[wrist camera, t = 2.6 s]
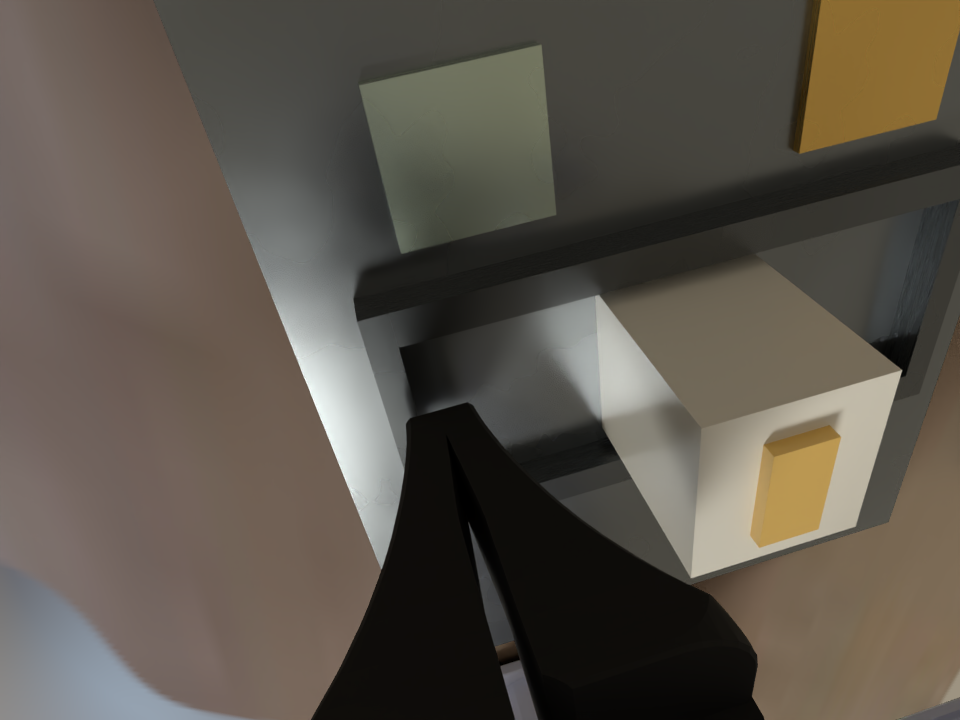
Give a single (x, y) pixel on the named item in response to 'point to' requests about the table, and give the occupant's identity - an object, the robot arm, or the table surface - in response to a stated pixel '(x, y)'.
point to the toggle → (740, 409)
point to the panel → (574, 206)
